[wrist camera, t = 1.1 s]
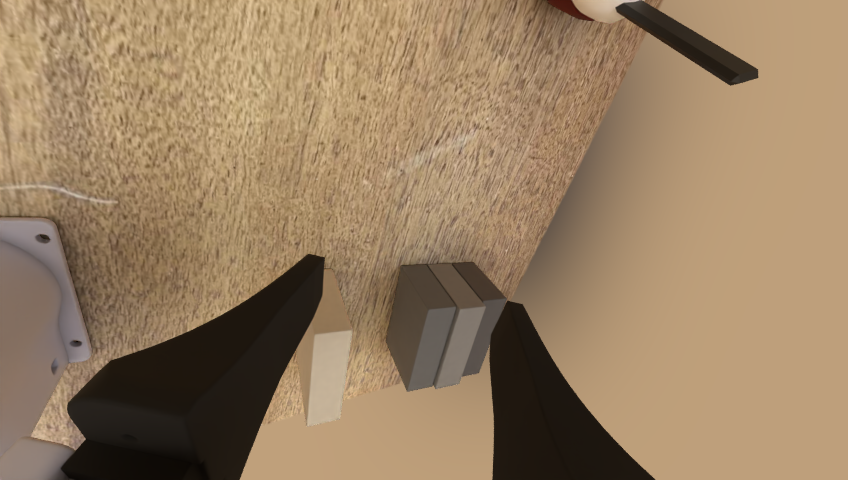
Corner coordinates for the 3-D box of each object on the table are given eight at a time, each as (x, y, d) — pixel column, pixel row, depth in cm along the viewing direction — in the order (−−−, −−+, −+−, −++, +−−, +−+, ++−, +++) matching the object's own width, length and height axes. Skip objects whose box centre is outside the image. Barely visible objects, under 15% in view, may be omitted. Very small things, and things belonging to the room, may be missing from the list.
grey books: (452, 331, 35) (482, 379, 30) (385, 341, 32) (408, 395, 27) (473, 261, 31) (512, 303, 27) (400, 265, 28) (430, 312, 24)
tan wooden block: (324, 349, 29) (340, 419, 24) (296, 354, 29) (306, 427, 23) (332, 268, 26) (353, 329, 21) (300, 270, 25) (314, 334, 20)
